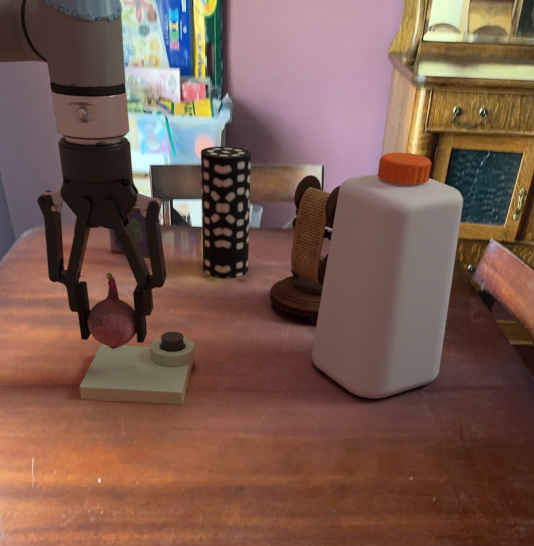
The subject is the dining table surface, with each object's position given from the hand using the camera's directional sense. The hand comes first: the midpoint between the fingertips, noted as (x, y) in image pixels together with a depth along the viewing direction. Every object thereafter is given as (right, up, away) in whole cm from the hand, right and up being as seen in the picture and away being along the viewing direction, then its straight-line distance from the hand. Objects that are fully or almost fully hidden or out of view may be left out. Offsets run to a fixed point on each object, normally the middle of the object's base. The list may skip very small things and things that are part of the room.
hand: (114, 336), depth 86 cm
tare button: (+7, 0, +6) cm, 9 cm away
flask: (-6, +25, +44) cm, 51 cm away
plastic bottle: (+34, -3, +10) cm, 36 cm away
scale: (+2, -5, +5) cm, 8 cm away
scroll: (+27, +10, +27) cm, 40 cm away
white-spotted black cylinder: (+12, +20, +39) cm, 45 cm away
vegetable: (0, -2, +1) cm, 2 cm away
